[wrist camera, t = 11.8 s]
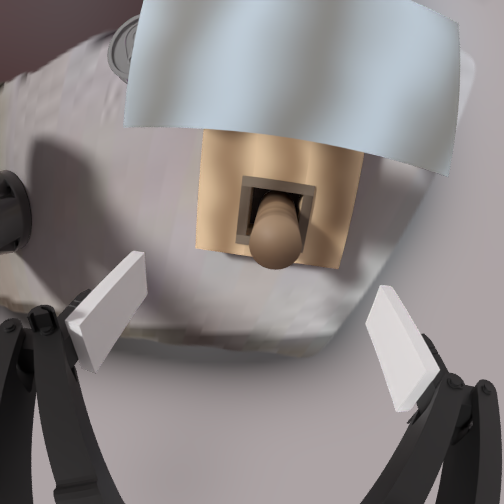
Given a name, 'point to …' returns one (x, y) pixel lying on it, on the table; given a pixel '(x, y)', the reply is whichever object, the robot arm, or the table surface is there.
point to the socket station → (295, 103)
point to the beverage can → (123, 48)
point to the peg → (276, 232)
